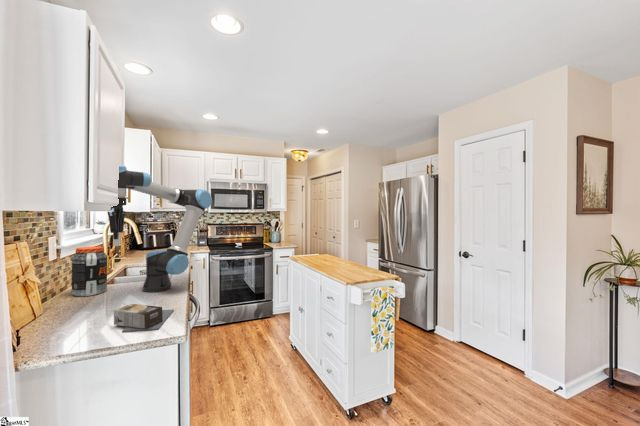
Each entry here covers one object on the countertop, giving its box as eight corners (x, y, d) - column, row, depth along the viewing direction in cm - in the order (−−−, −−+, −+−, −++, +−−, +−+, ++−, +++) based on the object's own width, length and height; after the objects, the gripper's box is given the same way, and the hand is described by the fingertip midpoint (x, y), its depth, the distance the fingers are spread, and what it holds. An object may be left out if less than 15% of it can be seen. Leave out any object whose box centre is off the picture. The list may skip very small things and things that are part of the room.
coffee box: (132, 302, 127) (163, 306, 123) (132, 317, 127) (163, 321, 123) (113, 310, 118) (145, 313, 114) (113, 325, 118) (145, 329, 114)
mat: (143, 312, 134) (143, 311, 134) (173, 310, 137) (173, 309, 137) (122, 332, 113) (122, 330, 113) (158, 329, 116) (158, 328, 116)
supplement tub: (102, 295, 158) (102, 248, 158) (66, 298, 153) (66, 250, 152) (110, 288, 173) (110, 245, 173) (78, 290, 167) (78, 246, 167)
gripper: (114, 197, 144) (114, 244, 145) (100, 196, 132) (101, 247, 132) (131, 197, 146) (131, 243, 147) (119, 196, 133) (119, 247, 134)
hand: (117, 245), depth 139 cm, fingers closed
